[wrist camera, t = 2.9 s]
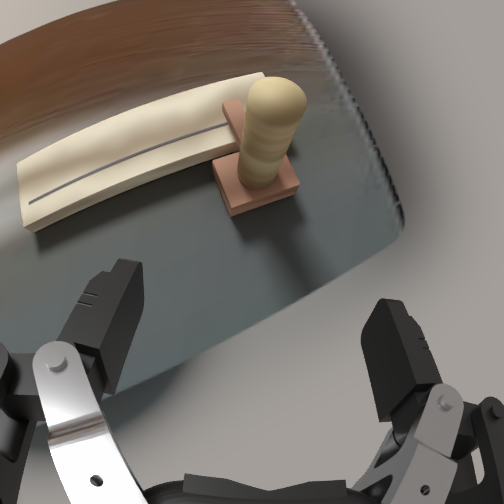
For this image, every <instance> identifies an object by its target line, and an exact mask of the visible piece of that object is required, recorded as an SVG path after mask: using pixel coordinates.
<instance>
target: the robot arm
mask: <svg viewBox="0 0 504 504" xmlns="http://www.w3.org/2000/svg"><path fill="white" fill-rule="evenodd" d="M143 306H144V285H143V266H142V263H141V262H138V261H132V260H127V259H121V258H119V259H118V260H117V262H116V263H115V265H114V267H113V269H112V270H111V272H110V273H109V272H104V271H102V272H100V273H99V274H98V275H96V276H95V277H94V278H92V279H91V280H90V281H89V283H88V285H87V287H86V288H85V290H84V293H83V294H82V295H81V297H80V298H79V300H78V304H76V305H75V307H74V309H73V311H72V313H71V314H70V316H69V318H68V320H67V322H66V324H65V325H64V327H63V329H62V331H61V333H60V335H59V337H58V338H57V340H56V341H54V342H50V343H47V344H45V345H43V346H42V347H41V348H40V349H39V350H38V351H37V352H36V353H33V354H15V353H8V351H7V349H6V347H5V346H4V345H3V344H2V343H1V342H0V504H17V499H18V493H19V489H20V483H21V479H22V475H23V471H24V467H25V463H26V459H27V455H28V451H29V448H30V444H31V441H32V437H33V433H34V430H35V427H36V424H37V421H47V424H48V427H49V432H50V434H49V435H48V437H47V439H48V444H49V448H50V451H51V454H52V456H53V459H54V462H55V464H56V467H57V470H58V472H59V475H60V477H61V480H62V482H63V485H64V487H65V489H66V492H67V494H68V496H69V498H70V500H71V503H72V504H504V405H503V404H502V403H501V401H499V400H498V399H497V398H494V397H487V398H485V399H484V400H483V401H482V402H481V403H480V404H479V405H476V404H472V403H468V402H464V401H463V400H462V398H461V396H460V394H459V393H458V391H457V390H456V389H455V388H453V387H451V386H450V385H447V384H443V382H442V379H441V377H440V374H439V371H438V369H437V366H436V364H435V361H434V359H433V356H432V354H431V351H430V350H429V346H428V344H427V342H426V341H425V337H424V335H423V332H422V330H421V327H420V326H419V325H418V324H417V322H416V321H415V320H414V319H413V318H412V316H409V315H408V313H407V310H406V308H405V306H404V304H403V302H402V301H400V300H392V299H384V298H382V299H380V300H379V301H378V302H377V304H376V306H375V308H374V310H373V312H372V313H371V315H370V317H369V319H368V321H367V322H366V324H365V326H364V328H363V330H362V334H361V346H362V350H363V354H364V358H365V362H366V365H367V369H368V374H369V378H370V382H371V387H372V391H373V395H374V400H375V404H376V408H377V413H378V418H379V422H390V421H392V425H393V427H392V428H391V429H390V430H389V431H388V433H387V435H386V437H385V439H384V441H383V443H382V444H381V446H380V448H379V450H378V452H377V454H376V456H375V457H374V459H373V461H372V463H371V465H370V466H369V468H368V469H367V471H366V472H365V474H364V475H363V476H362V477H361V478H360V479H359V480H358V481H357V482H356V483H355V485H354V486H353V487H352V488H351V489H349V488H346V481H345V480H334V481H313V482H306V483H303V484H298V485H294V486H290V487H286V488H282V489H277V490H272V491H267V490H262V489H258V488H255V487H251V486H248V485H244V484H241V483H238V482H235V481H232V480H228V479H224V478H214V477H205V476H198V475H192V474H185V475H184V480H182V481H172V482H166V483H163V484H159V485H156V486H153V487H151V488H148V489H146V490H145V491H143V489H142V488H141V486H140V484H139V483H138V481H137V479H136V477H135V475H134V474H133V472H132V470H131V468H130V466H129V465H128V463H127V461H126V459H125V457H124V455H123V454H122V452H121V450H120V448H119V446H118V444H117V441H116V440H115V437H114V435H113V433H112V431H111V429H110V427H109V425H108V422H107V420H106V418H105V416H104V413H103V411H102V409H101V407H100V402H101V399H102V396H103V393H107V394H111V395H114V394H115V390H116V387H117V384H118V381H119V378H120V375H121V372H122V369H123V366H124V363H125V360H126V357H127V354H128V351H129V348H130V346H131V343H132V340H133V337H134V334H135V331H136V329H137V326H138V323H139V321H140V318H141V315H142V311H143ZM478 447H479V449H480V453H481V457H482V462H483V466H484V471H485V475H484V478H483V480H482V482H481V483H480V484H477V480H476V475H475V470H474V465H473V461H472V456H471V452H473V451H474V450H475V449H477V448H478Z"/></svg>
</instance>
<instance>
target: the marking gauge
mask: <svg viewBox="0 0 504 504" xmlns="http://www.w3.org/2000/svg"><path fill="white" fill-rule="evenodd" d="M306 106H307V100H306V96H305V94H304V92H303V91H302V89H301V88H300V87H299V86H298V85H296V84H295V83H293V82H292V81H290V80H287V79H285V78H280V77H266V78H263V79H260V80H258V81H256V82H255V83H254V84H253V85H252V86H251V88H250V90H249V93H248V99H247V106H246V112H245V111H244V109H243V107H242V105H241V103H240V101H239V99H238V98H236V99H232V100H229V101H225V102H222V111H223V113H224V116H225V118H226V120H227V122H228V124H229V127H230V129H231V131H232V133H233V135H234V138H235V140H236V142H237V144H238V147H239V149H240V152H237V153H234V154H231V155H228V156H224V157H221V158H218V159H215V160H212V166H213V175H214V177H215V180H216V182H217V185H218V187H219V190H220V192H221V195H222V197H223V200H224V202H225V205H226V207H227V210H228V212H229V215H230V217H232V216H235V215H237V214H240V213H243V212H246V211H249V210H251V209H254V208H257V207H260V206H263V205H265V204H268V203H271V202H274V201H277V200H280V199H283V198H286V197H289V196H291V195H294V193H295V192H296V190H297V189H298V187H299V186H300V183H299V180H298V178H297V176H296V174H295V172H294V170H293V168H292V166H291V164H290V162H289V160H288V157H287V155H286V152H287V150H288V148H289V146H290V143H291V141H292V139H293V136H294V134H295V132H296V130H297V127H298V125H299V123H300V121H301V118H302V116H303V114H304V111H305V109H306Z"/></svg>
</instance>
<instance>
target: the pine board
mask: <svg viewBox="0 0 504 504" xmlns="http://www.w3.org/2000/svg"><path fill="white" fill-rule="evenodd" d="M263 78H265V76H264V74H263V73H262V72H259V73H254V74H250V75H245V76H241V77H236V78H232V79H228V80H224V81H220V82H216V83H213V84H209V85H205V86H202V87H198V88H195V89H191V90H188V91H184V92H181V93H178V94H175V95H172V96H169V97H165V98H162V99H159V100H157V101H154V102H151V103H148V104H145V105H142V106H140V107H137V108H134V109H132V110H129V111H126V112H124V113H121V114H119V115H116V116H114V117H111V118H109V119H106V120H104V121H102V122H99V123H97V124H95V125H92V126H90V127H88V128H85V129H83V130H81V131H79V132H77V133H75V134H72V135H70V136H68V137H66V138H64V139H62V140H60V141H58V142H56V143H54V144H52V145H50V146H48V147H46V148H44V149H42V150H40V151H39V152H37V153H35V154H33V155H31V156H29V157H28V158H26V159H24V160H22V161H21V162H19V163H17V174H18V186H19V195H20V204H21V212H22V219H23V226H24V228H26V229H28V230H30V231H32V232H36V231H38V230H40V229H42V228H44V227H46V226H48V225H50V224H52V223H54V222H56V221H59V220H61V219H63V218H65V217H67V216H69V215H71V214H74V213H76V212H78V211H80V210H82V209H85V208H87V207H89V206H91V205H94V204H96V203H98V202H100V201H103V200H105V199H107V198H110V197H112V196H115V195H117V194H119V193H122V192H124V191H127V190H129V189H132V188H134V187H137V186H139V185H142V184H144V183H147V182H149V181H152V180H155V179H157V178H160V177H163V176H165V175H168V174H171V173H174V172H176V171H179V170H182V169H185V168H187V167H190V166H193V165H196V164H199V163H202V162H205V161H208V160H211V159H214V158H217V157H220V156H223V155H226V154H229V153H232V152H236V151H239V150H240V149H239V147H238V144H237V142H236V140H235V138H234V135H233V133H232V131H231V129H230V127H229V124H228V122H227V120H226V118H225V116H224V113H223V111H222V102H225V101H229V100H232V99H236V98H238V99H239V101H240V103H241V105H242V107H243V109H244V111H245V112H246V106H247V99H248V93H249V90H250V88H251V86H252V85H253V84H254V83H255V82H256V81H258V80H260V79H263Z"/></svg>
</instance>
